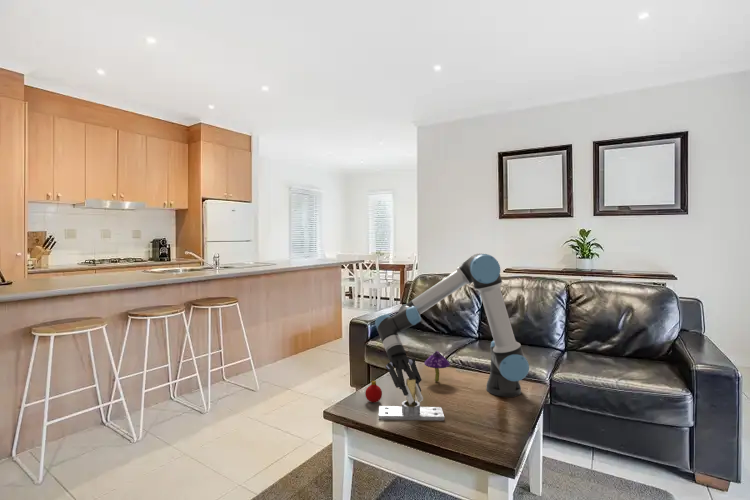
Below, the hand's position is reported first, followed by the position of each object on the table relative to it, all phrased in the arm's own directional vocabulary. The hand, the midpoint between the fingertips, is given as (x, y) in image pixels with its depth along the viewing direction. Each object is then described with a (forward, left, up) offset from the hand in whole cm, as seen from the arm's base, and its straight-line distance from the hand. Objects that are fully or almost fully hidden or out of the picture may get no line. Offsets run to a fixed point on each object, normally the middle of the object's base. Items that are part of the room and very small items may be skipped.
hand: (416, 401), depth 155 cm
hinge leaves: (+2, -3, -7) cm, 8 cm away
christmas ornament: (+17, -16, -7) cm, 24 cm away
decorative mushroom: (-13, -42, -7) cm, 44 cm away
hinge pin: (+2, -3, -4) cm, 5 cm away
